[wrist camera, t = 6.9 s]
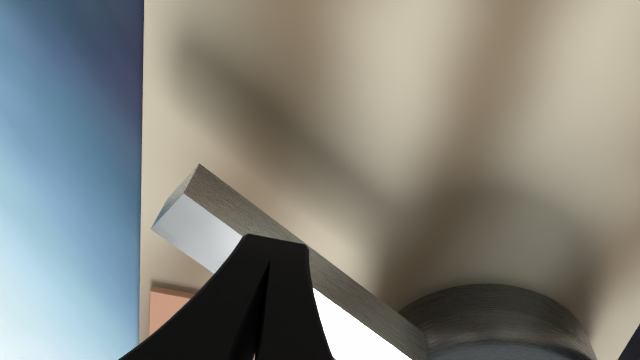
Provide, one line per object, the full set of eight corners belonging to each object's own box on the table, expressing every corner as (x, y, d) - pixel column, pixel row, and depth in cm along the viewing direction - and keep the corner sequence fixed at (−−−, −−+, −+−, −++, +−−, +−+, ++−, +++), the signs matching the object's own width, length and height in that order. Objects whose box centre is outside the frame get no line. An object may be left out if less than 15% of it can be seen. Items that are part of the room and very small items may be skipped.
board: (803, 11, 16) (826, 22, 16) (475, 564, 32) (477, 584, 31) (158, -115, 16) (146, -112, 15) (142, 504, 32) (136, 523, 31)
